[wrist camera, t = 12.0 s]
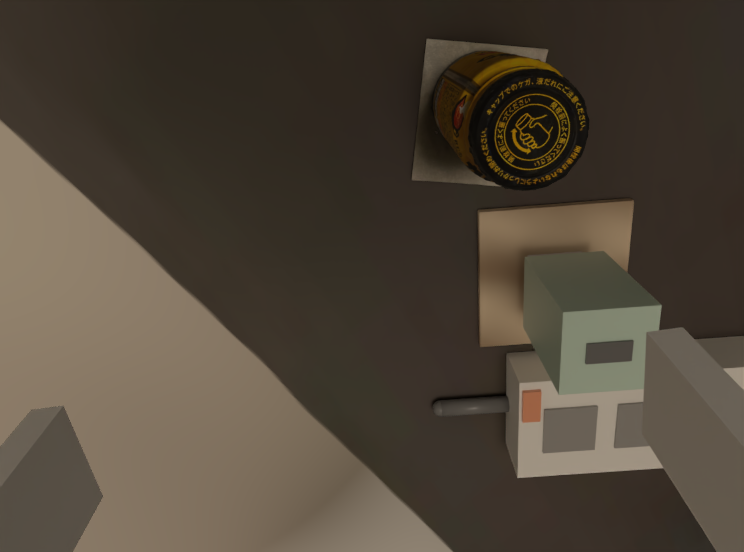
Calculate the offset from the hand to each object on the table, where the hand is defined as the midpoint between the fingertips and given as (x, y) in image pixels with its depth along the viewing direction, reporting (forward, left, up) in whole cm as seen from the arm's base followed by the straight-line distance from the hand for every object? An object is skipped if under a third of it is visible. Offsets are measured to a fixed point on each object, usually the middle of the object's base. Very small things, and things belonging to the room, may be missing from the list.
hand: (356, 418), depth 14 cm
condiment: (-3, +7, -27) cm, 28 cm away
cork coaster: (+8, +12, -27) cm, 31 cm away
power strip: (+18, +17, -27) cm, 36 cm away
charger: (+8, +12, -26) cm, 30 cm away
